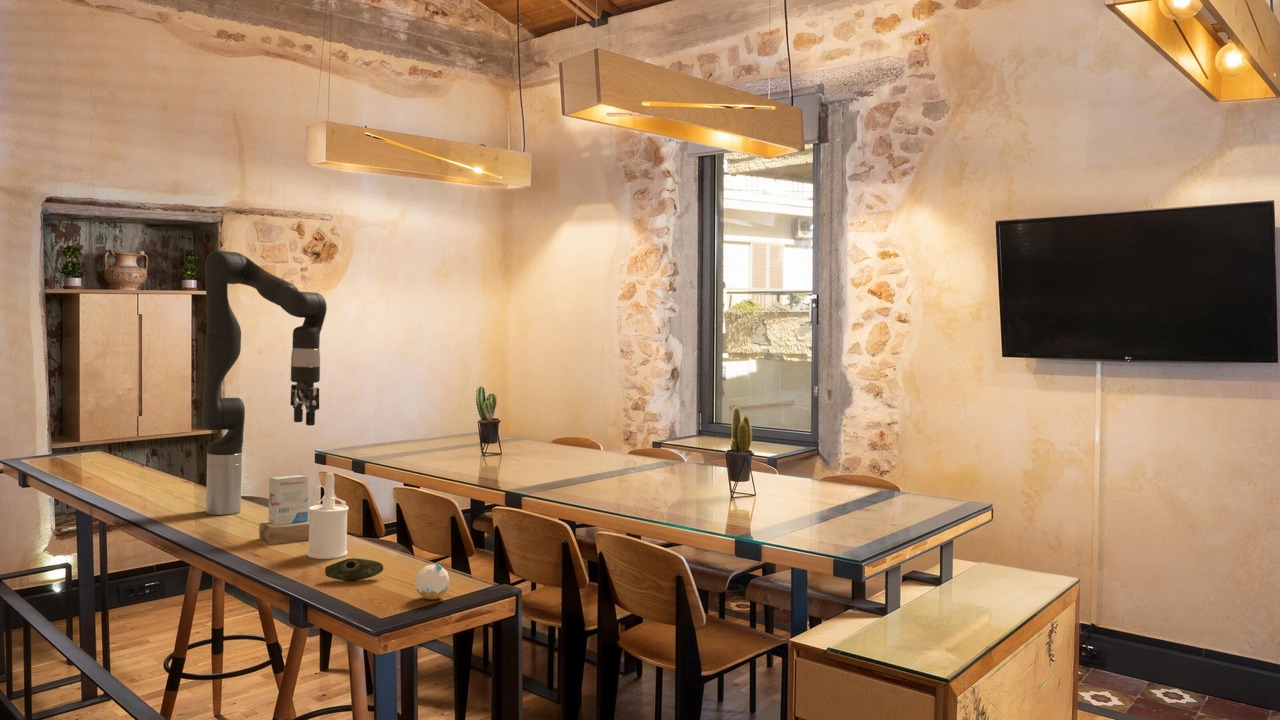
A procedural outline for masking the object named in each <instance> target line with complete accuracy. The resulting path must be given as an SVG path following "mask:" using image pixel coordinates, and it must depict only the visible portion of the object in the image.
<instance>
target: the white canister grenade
mask: <svg viewBox="0 0 1280 720" xmlns="http://www.w3.org/2000/svg"><path fill="white" fill-rule="evenodd" d="M324 476H325V477H324V485H318V486H317V487H315V488H314V490H313V491H312V492H313V493H312V501H313V502H314V503H316V505H312V506H308V514H309V515H308V519H309V540H308V551H307V557H309V558H311V559H316V560H333V559H340V558H344V557H345V556H347V555H348V549H347V543H348V542H347V541H348V540H347V539H348V538H347V536H348V511H349V510H350V509H349V508H350V507H349V506H348V505H347V502H346V501H345V500H343V499H341V498H338V497H337V496H336V494H335V475H334V473H333V472H329V471H328V472H326V473H325V475H324ZM320 488H323V492H324V495H323V496H322V498H321V499H320V500H319V501H316V499H315V497H316V496H315V495H316V492H317V491H318V489H320ZM336 501H339V502H341V503H340V504H339V503H336ZM321 502H322V504H319V503H321Z"/></svg>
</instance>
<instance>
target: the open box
mask: <svg viewBox="0 0 1280 720" xmlns="http://www.w3.org/2000/svg"><path fill="white" fill-rule="evenodd" d="M258 528H259V529H258V531H259V533H258V536H259V537H258V539H260V540H262V541H263V542H265V543H267V544H269V545H278V544H286V543H294V542H301V541H309V518H308V521H306V522H298V523H290V524H282V525H275V524H272V523H270V522H269V520H268V521H267V520H266V521H262V522H259V527H258Z"/></svg>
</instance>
